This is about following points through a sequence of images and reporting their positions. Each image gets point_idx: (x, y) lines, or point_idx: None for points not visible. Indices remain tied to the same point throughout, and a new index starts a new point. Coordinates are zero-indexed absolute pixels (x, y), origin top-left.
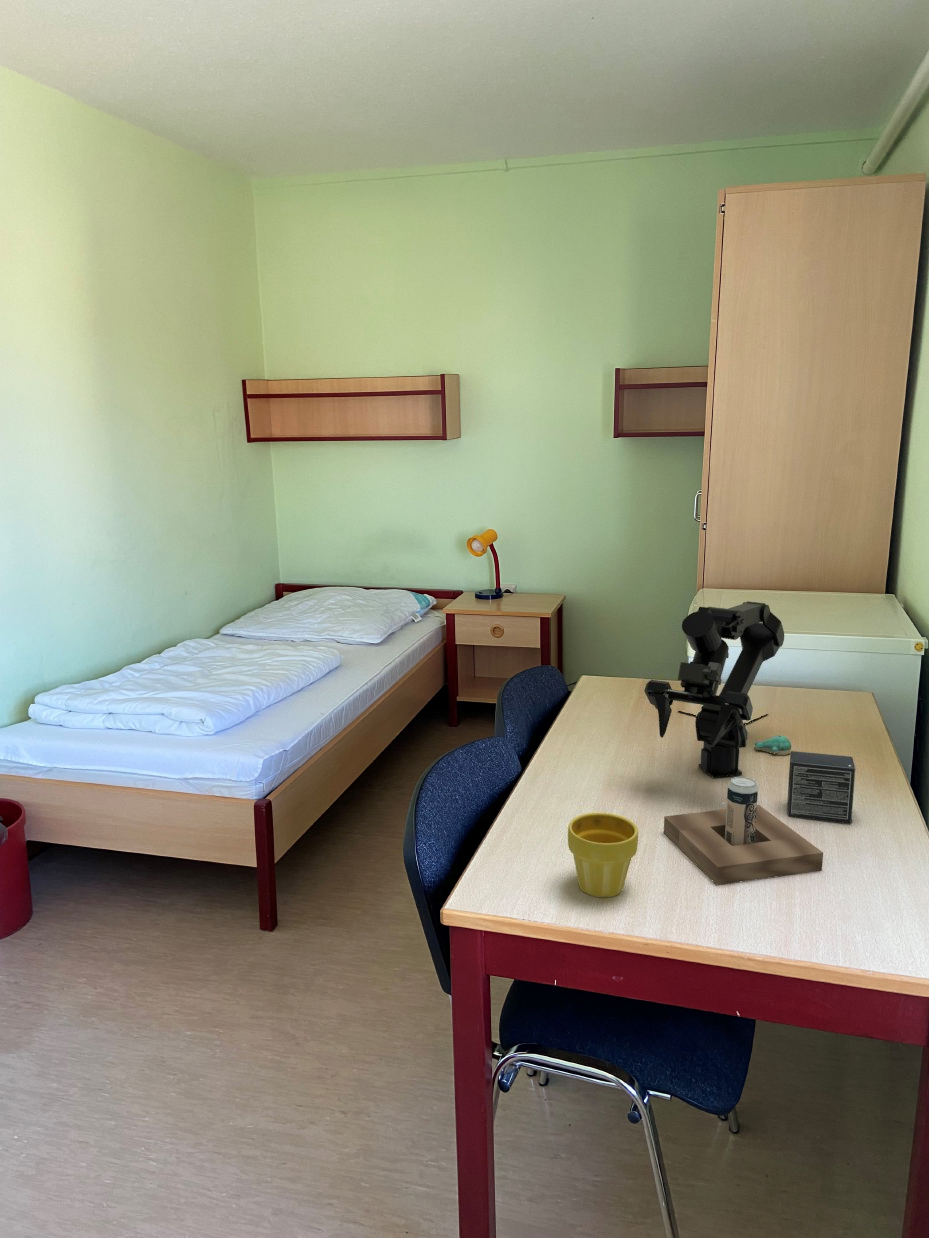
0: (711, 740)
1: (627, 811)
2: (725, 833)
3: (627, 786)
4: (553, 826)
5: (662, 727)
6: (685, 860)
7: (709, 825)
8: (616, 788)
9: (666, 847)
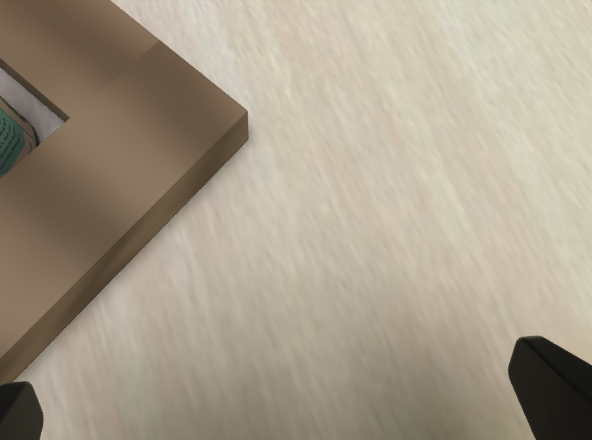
0: (2, 404)
1: (418, 218)
2: (3, 100)
3: None
4: (526, 16)
5: (580, 381)
6: None
7: (74, 127)
8: None
9: (202, 60)
